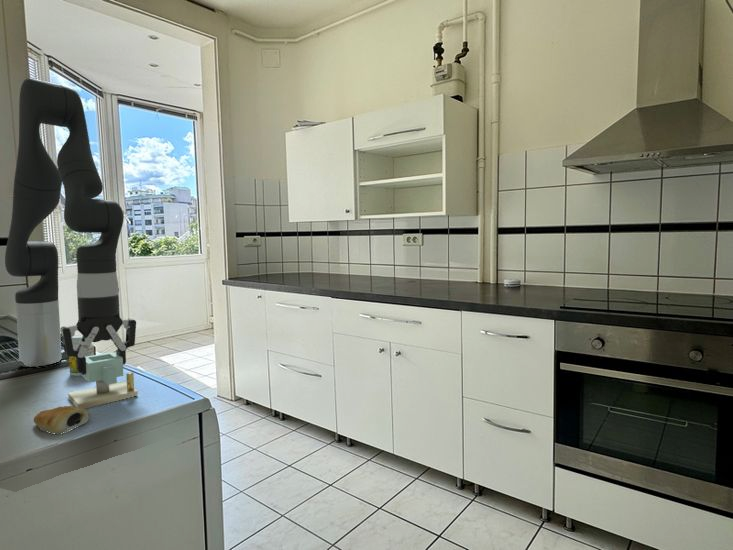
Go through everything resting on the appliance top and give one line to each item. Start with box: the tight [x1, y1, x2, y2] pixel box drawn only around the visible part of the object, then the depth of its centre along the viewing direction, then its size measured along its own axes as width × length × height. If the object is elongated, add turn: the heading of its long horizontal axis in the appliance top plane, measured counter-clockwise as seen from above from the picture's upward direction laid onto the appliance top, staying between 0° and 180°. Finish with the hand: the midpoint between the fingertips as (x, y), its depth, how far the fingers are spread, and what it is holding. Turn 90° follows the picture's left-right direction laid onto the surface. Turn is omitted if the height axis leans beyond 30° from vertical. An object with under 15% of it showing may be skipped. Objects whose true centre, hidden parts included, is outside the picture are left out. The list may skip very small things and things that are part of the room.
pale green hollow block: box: [81, 351, 124, 385], centre depth 92 cm, size 10×6×4 cm, turn 45°
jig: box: [67, 380, 138, 410], centre depth 94 cm, size 9×11×6 cm
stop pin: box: [125, 372, 135, 391], centre depth 95 cm, size 1×1×4 cm
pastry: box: [33, 405, 90, 435], centre depth 80 cm, size 9×7×4 cm
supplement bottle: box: [68, 334, 95, 377], centre depth 110 cm, size 5×5×10 cm
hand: (102, 370), depth 93 cm, fingers closed on pale green hollow block, 6 cm apart
